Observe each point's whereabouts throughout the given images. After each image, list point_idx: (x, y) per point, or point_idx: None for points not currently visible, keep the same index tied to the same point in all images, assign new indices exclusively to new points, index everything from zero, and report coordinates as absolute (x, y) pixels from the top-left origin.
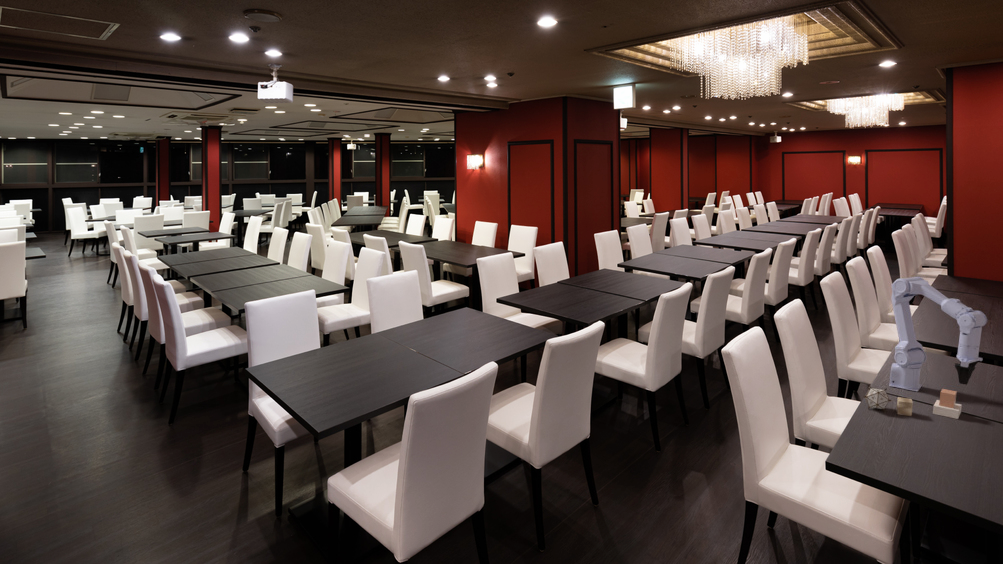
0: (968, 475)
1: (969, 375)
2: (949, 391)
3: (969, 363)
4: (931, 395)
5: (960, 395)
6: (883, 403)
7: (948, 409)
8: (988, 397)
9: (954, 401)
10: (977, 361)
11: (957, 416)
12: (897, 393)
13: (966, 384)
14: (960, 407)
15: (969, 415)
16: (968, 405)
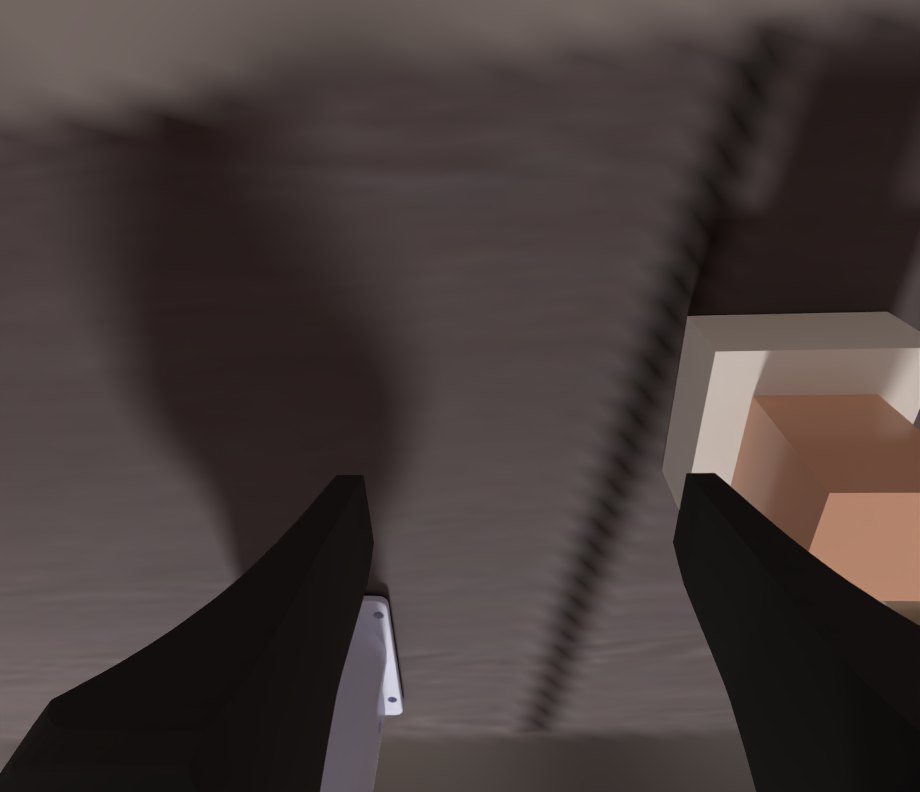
0: None
1: (866, 599)
2: (865, 545)
3: (283, 752)
4: (388, 525)
5: (206, 376)
6: None
7: (910, 419)
8: (34, 175)
9: (895, 433)
10: (206, 758)
11: (902, 326)
12: (508, 661)
13: (716, 476)
14: (814, 349)
15: (726, 246)
16: (434, 290)
